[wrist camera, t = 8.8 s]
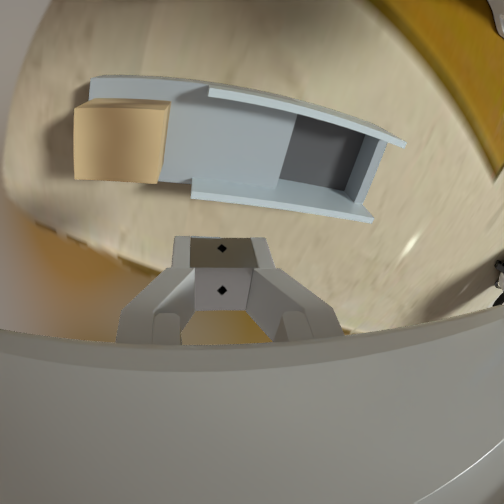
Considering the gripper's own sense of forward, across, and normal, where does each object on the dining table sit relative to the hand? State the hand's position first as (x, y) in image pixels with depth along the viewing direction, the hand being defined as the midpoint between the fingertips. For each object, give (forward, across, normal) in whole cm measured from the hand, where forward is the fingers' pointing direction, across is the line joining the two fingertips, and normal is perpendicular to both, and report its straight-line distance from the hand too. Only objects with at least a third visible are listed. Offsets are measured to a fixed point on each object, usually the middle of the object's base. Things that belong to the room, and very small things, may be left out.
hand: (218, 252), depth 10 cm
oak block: (+14, +6, -1) cm, 15 cm away
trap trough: (+17, -3, 0) cm, 17 cm away
